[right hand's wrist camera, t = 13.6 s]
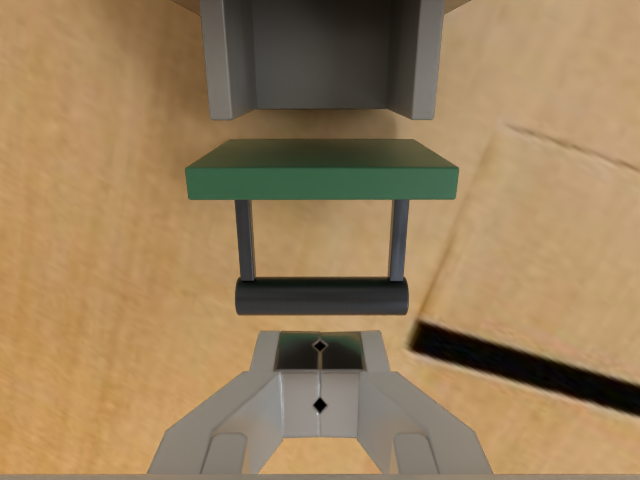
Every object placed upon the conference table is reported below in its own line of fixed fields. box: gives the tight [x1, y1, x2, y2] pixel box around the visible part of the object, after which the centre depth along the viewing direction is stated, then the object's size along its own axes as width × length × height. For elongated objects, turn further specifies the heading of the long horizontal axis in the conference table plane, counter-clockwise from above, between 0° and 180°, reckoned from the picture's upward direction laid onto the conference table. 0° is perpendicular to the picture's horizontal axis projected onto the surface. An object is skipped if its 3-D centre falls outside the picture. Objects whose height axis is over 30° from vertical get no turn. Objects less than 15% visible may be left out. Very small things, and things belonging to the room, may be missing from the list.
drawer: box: [185, 0, 459, 315], centre depth 18 cm, size 18×10×8 cm, turn 0°
